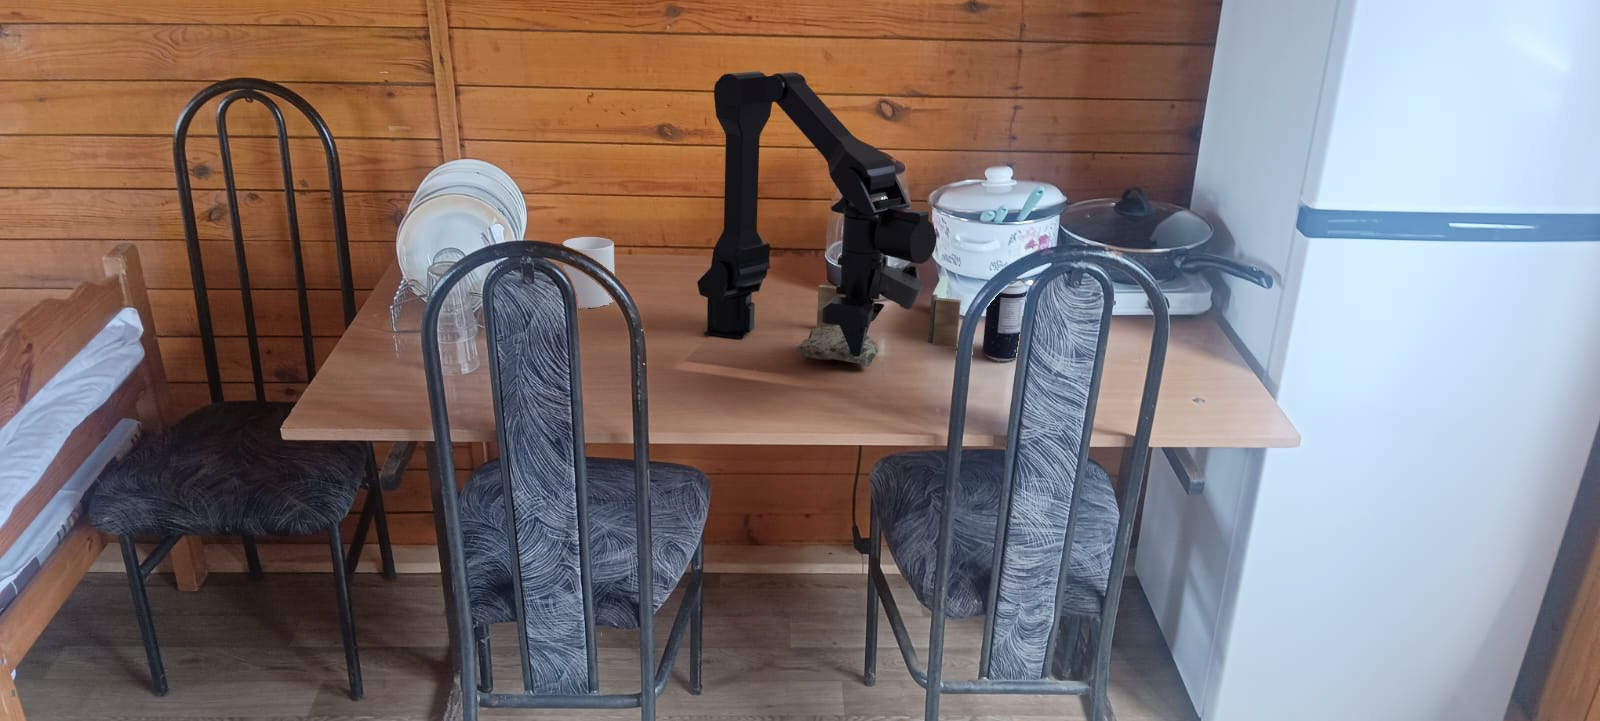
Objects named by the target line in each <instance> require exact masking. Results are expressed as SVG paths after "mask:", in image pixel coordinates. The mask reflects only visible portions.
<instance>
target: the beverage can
mask: <svg viewBox="0 0 1600 721" xmlns="http://www.w3.org/2000/svg"><path fill="white" fill-rule="evenodd" d="M1020 279H1021V280H1019V281H1017V282H1016V283H1014V284H1012V285H1010V286H1008V287H1007V288H1005V289H1004V290H1003V291H1001V292H1000V293H999V294H998V295H997V296H996V297H995V299H994V300H993V301H992V302H991V303H990V305H989V306H988V307H987V306H986V307H987V308H986V309H985V319H984V329H983V340H982V349H981V350H982V353H983V354H984V355H985V356H986V357H987V358H988V357H989V358H988V359H990V358H991V359H990V360H992V359H994V360H993V361H995V360H999V361H998V362H1000V361H1007V362H1011V361H1010V360H1012V361H1014V360H1016V359H1017V358H1016V353H1017V347H1018V341H1019V334H1020V328H1021V320H1022V312H1023V305H1024V301H1025V297H1026V294H1027V295H1028V289H1027V287H1026V281H1025V280H1024V279H1022V278H1020ZM1015 358H1016V359H1015ZM1013 359H1014V360H1013Z"/></svg>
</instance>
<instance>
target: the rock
mask: <svg viewBox="0 0 1600 721" xmlns="http://www.w3.org/2000/svg"><path fill="white" fill-rule="evenodd" d="M878 351H879V346H878V343H877V341H876V340H874V339H873V338H872V337H871V336H870V335H868V334H867V335H866V339H865V342H864V345H863V349H862V352H861V355H860V356H859V357H856V356H852V354H851V352H850V349H849V347H848V344H847V342H846V339H845V337H844V335H843V332H842V330H841V328H840V326H839V325H834V326H827V327H823V328H820V327H817V326H816V327H813V328H811V330H810V333H809V336H808V338H806V339H804V340H803V341H802V342H801V343H799V344H798V346H796V348H795V352H796V353H797V354H800V355H801V356H804V357H807V358H811V359H813V360H823V361H832V360H836V361H843V362H847V363H855V364H858V365H861V366H866V367H870V366H872V363H873V360H874V359H875V358H876V354H878Z"/></svg>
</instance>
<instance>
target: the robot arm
mask: <svg viewBox="0 0 1600 721" xmlns="http://www.w3.org/2000/svg"><path fill="white" fill-rule="evenodd" d="M713 99H714V108H715V116H716V119H717V121H718V123H719V125H720V126H721V128H722V130H723V132H724V134H725V153H724V154H725V157H724V159H725V162H724V200H723V201H724V203H723V204H724V207H723V208H724V209H723V210H724V211H723V214H724V215H723V230H722V233H721V234H720V236H719V238H718V240H717V242H716V243H715V245H714V247H713V251H712V258H711V265H710V268H708V270H707V271H706V272H705V273H704V274H703V275H702V276H701V277H700V278H699V279H698V280H697V282H696V283H697V287H698V293H699V295H700V296H702V297H704V298H707V305H706V306H707V307H706V308H707V312H706V314H707V315H706V316H707V318H706V319H707V320H706V321H707V322H706V327H705V329H704V330H703V335H706V336H716V337H723V338H731V339H738V340H741V339H744V338H745V337H746V336H747V335H748V334H750V332H752V330H753V329H754V328H755V306H756V305H755V302H752V298H753V297H752V296H753V295H752V294H753V293H758V292H760V290H761V286H762V284H763V280H764V279H766V277H767V275H768V270H769V269H771V268H772V267H771V264H770V255H771V254H770V253H771V244H770V243H769V242H764V241H763V240H762V238H761V236H760V234H759V232H758V227H757V226H758V199H759V197H758V196H759V171H760V169H759V167H760V166H759V163H760V137H761V134H762V132H763V130H764V128H765V126H766V125H767V123H768V121H769V118H770V116H771V113H772V106H773V103H776V104H777V105H778V107H779V108H780V109H781V110H782V111H783V112H784V113H785V115H786V116H788V118H789V119H790V120H791V121H792V123H793V124H794V125H795V126H796V127H797V128H798V130H800V131H801V133H802V134H803V135H804V137H805V138H806V139H807V140H809V142H810V143H811V144H812V145H813V147H814V148H815V149H816V150H817V152H819V153H820V155H821V156H822V157H823V158H824V160H825V161H826V163H827V165H828V166H827V167H828V173H829V177H830V179H831V181H832V182H833V183H834V185H835V187H836V189H837V190H838V192H839V193H840V195H841V199H839V201H837V202H836V203H834V204H833V205H832V206H831V207H830V209H831V212H835V213H838V214H842V215H843V219H842V222H843V223H842V240H841V241H842V244H841V254H840V255H839V256H838V257H837V266H840V277H839V281H840V282H839V283H838V284H837V285H836V286H837V287H836V294H844V295H845V297H839V296H835V297H834V298H833V299H832V300H831V301H829V302H828V304H827V305H826V306H825V307H824V308H823V318H822V322H823V323H825V324H833V325H839V326H840V328H841V330H842V332H843V335H844V337H845V339H846V342H847V344H848V347H849V349H850V352H851V354H852V356H856V357H859V356H860V355H861V352H862V349H863V345H864V342H865V339H866V335H867V336H868V331H869V328H870V325H871V323H872V322H873V321H875V320H876V319H877V317H878V316H879V314H880V312H881V311H882V310H883V309H884V307H885V304H884V303H879V302H876V301H875V300H880V295H881V296H882V297H883V298H885V299H888V300H890V301H892V302H894V303H896V304H897V305H899V306H900V308H902V309H905V310H911V309H912V307H913V306H914V304H915V303H916V301H917V298H918V296H919V295H920V292H921V290H922V288H923V285H924V282H923V281H924V279H923V278H921V277H920V270H919V269H920V268H919V266H917V265H915V264H918V265H922V264H924V263H926V262H927V261H928V260H930V258H931V257H932V255H933V253H934V251H935V248H936V245H937V241H938V240H937V239H938V236H937V234H936V229H935V226H934V224H933V223H932V222H931V221H929V215H930V212H928V211H926V210H922V209H920V210H915V209H911V208H910V207H911V205H910V202H909V200H908V198H907V196H906V194H905V192H904V189H903V187H902V185H901V183H900V181H899V178H898V176H897V174H896V171H897V170H896V166H895V164H894V163H893V162H892V160H891V159H890V158H889V157H888V156H886V155H885V154H884V153H882V152H881V151H880V150H878V149H877V148H876V147H874V146H873V145H871V144H869V143H866V142H864V141H862V140H860V139H859V138H857V137H856V136H854V135H853V134H852V133H851V132H850V130H848V129H847V128H846V126H845V125H844V124H843V123H842V122H841V121H840V120H839V119H838V118H837V116H836V115H835V114H834V112H832V110H830V108H829V107H828V106H827V105H826V104H825V103H824V102H823V101H822V99H820V97H819V96H818V95H817V94H816V93H815V92H814V91H813V89H812V88H811V87H810V86H809V85H808V83H807V80H806V78H805V76H803V75H802V74H800V73H798V72H795V71H790V72H776V73H773V74H772V75H766V74H765V73H764V72H761V71H760V70H759V71H747V72H734V73H724V74H722V75H721V76H720V77H719V79H718V80H715V84H714V87H713ZM884 197H885V198H884ZM880 198H883V199H880ZM875 199H879V200H875ZM889 257H891V258H895V259H898V260H903V261H907V262H910V263H908V264H906V266H904V267H903V268H901V269H900V268H899V267H898V266H897V267H896V268H895V267H892V266H890V265H888V262H889Z"/></svg>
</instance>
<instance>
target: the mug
mask: <svg viewBox="0 0 1600 721" xmlns="http://www.w3.org/2000/svg"><path fill="white" fill-rule="evenodd" d="M561 244H562V245H564V246H567V247H569V248H572V249H574V250H577V251H579V252H581V253H583V254H586V255H588V256H589V257H591V258H593V259H594V260H596V261H597V262H599V263H600V264H602V265H603V266H604V267H606V268H607V269H608V270H609V271H611V272H612V273H613V274H614V275H615V244H614V241H613V240H611V239H608V238H604V237H598V236H597V237H595V236H583V237H573V238H569V239H566V240H564V241H563V242H562V243H561ZM562 245H561V246H562ZM562 266H563V267H562V269H563V268H564V269H565V271H566V272H567V273H568V275H569V277H570V278H571V280H572V283H573V285H574V287H575V291H576V294H577V299H578V306H579V309H580V305H581V308H582V307H585V308H588V307H590V308H592V307H600V306H603V305H608V306H610V305H609V303H612V302H613V303H614V301H615V300H614V301H613V300H612V298H611V297H610V296H609V295H608V293H607V292H606V291H605V290H604V289H603V288H602V287H601V286H600V285H598V284H597V283H596V282H595V281H594V280H592V279H591V278H590V277H588V276H587V275H585V274H584V273H582V272H580V271H578V270H576V269H574V268H572V267H570V266H567V265H563V264H562ZM613 303H612V304H613ZM580 310H581V309H580Z"/></svg>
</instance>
